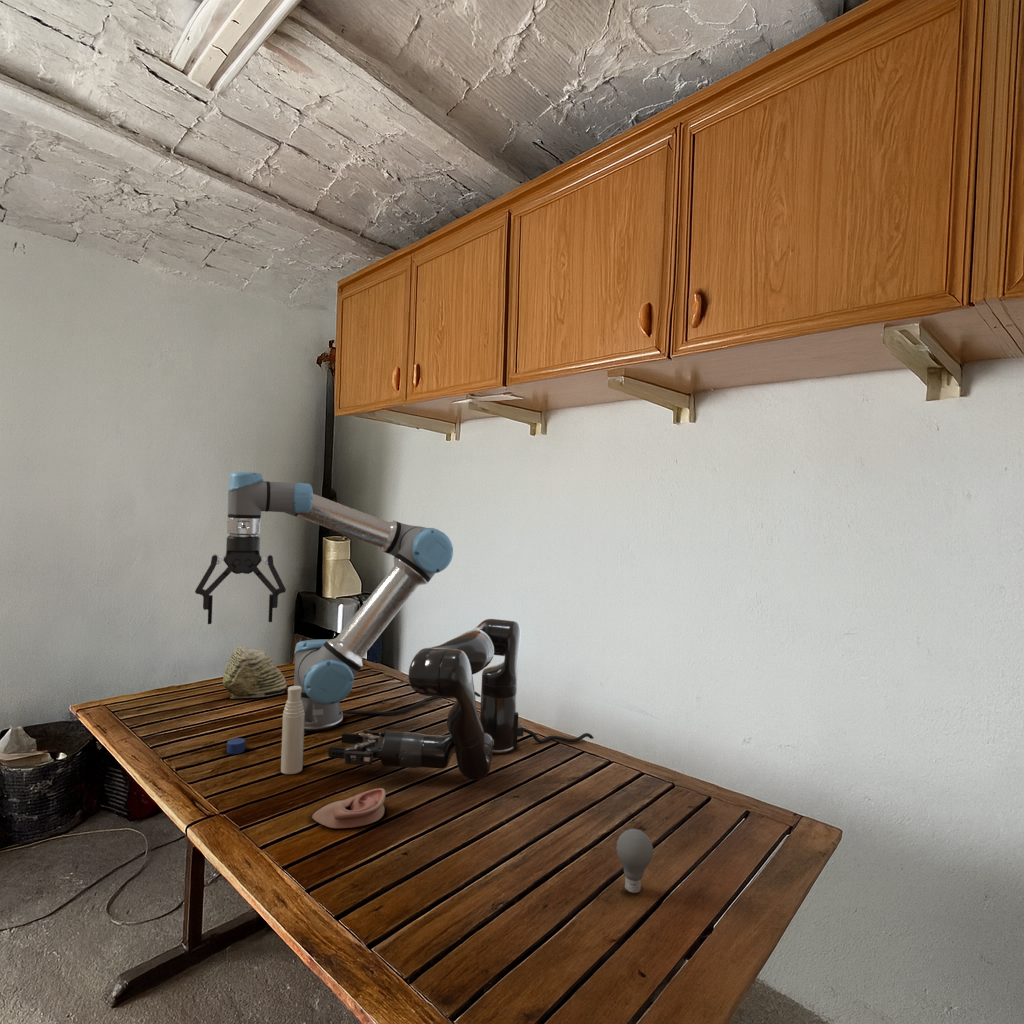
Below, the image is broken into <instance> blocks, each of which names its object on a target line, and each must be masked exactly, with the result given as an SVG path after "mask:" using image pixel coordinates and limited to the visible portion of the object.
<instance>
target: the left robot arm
mask: <svg viewBox="0 0 1024 1024" xmlns="http://www.w3.org/2000/svg"><path fill="white" fill-rule="evenodd" d="M262 512H266V513H267V512H273V513H285V514H287V515H290V516H293V517H296V518H300V519H302V520H305V521H307V522H310V523H313V524H315V525H318V526H321V527H324V528H327V529H329V530H332V531H334V532H338V533H340V534H342V535H346V536H349V537H351V538H354V539H357V540H360V541H363V542H365V543H368V544H370V545H373V546H375V547H379V548H380V550H381V552H383V553H385V554H387V555H390V556H392V557H393V567H392V568H391V569H390V570H389V572H388V573H387V574H386V575H385V577H384V578H383V579H382V581H381V582H380V583H379V584H378V585H377V586H376V588H375V589H374V590H373V591H372V593H371V594H370V596H369V597H368V598H367V599H366V600H365V602H363V604H362V605H361V607H360V608H358V610H357V612H356V613H355V614H354V615H353V617H352V618H351V619H350V620H349V621H348V622H347V624H346V625H345V626H344V627H343V629H342V630H341V631H340V633H339V634H338V635H337V636H336V637H335V638H330V639H328V638H327V639H307V640H301V641H299V642H297V643H296V644H295V648H294V649H295V650H294V672H293V673H294V674H293V675H294V676H293V686H301V688H302V691H301V700H302V703H303V706H304V712H305V718H304V733H316V732H325V731H329V730H332V729H335V728H337V727H339V726H340V725H342V723H343V722H344V715H367V716H371V715H372V716H389V715H397V714H400V713H405V712H407V711H410V710H413V709H415V708H417V707H419V706H421V705H423V704H424V703H427V702H429V701H432V700H436V699H440V698H442V697H435V696H428V697H426V698H423V699H422V700H420V701H418V702H416V703H414V704H412V705H409V706H407V707H404V708H401V709H396V710H389V711H387V710H386V711H372V710H371V711H369V710H343V709H342V706H341V701H343V700H345V699H346V698H347V697H348V696H349V695H350V693H351V691H352V690H353V686H354V681H355V677H356V676H357V675H358V673H359V672H360V671H361V669H362V668H363V667H364V666H363V658H364V656H365V655H366V654H367V653H368V651H369V650H370V648H371V647H372V646H373V645H374V643H375V642H376V641H377V640H378V639H379V637H380V636H381V634H382V633H383V632H384V631H385V629H386V628H388V626H389V624H390V623H391V622H392V620H393V619H394V618H395V617H396V616H397V614H398V612H400V610H401V609H402V607H403V606H405V604H406V602H407V601H408V600H409V599H410V597H411V596H412V595H413V594H414V592H415V591H416V590H417V588H418V587H419V586H422V585H428V584H429V582H430V581H431V580H432V579H433V577H434V576H435V574H438V573H441V572H443V571H444V570H446V569H447V568H448V567H449V565H450V564H451V562H452V559H453V556H454V547H453V542H452V541H451V539H450V538H449V536H448V535H447V534H446V533H445V532H443V531H442V530H440V529H438V528H434V527H425V526H418V525H412V524H406V523H402V522H400V521H396V520H391V521H387V520H385V519H382V518H379V517H376V516H375V515H374V516H373V515H371V514H369V513H366V512H363V511H360V510H358V509H356V508H352V507H350V506H347V505H345V504H342V503H339V502H336V501H334V500H332V499H329V498H326V497H323V496H321V495H318V494H316V493H314V490H313V486H312V485H311V484H310V483H305V482H304V483H303V482H290V481H289V482H288V481H269V480H267V481H266V480H264V478H263V475H262V473H260V472H249V471H233V472H231V473H230V474H229V479H228V489H227V517H226V518H227V521H226V533H227V534H228V535H227V536H226V545H225V546H226V548H225V549H226V550H225V555H224V556H223V555H218V554H216V553H215V554H213V555H212V556H211V559H210V565H209V566H208V568H207V570H206V572H205V573H204V575H203V577H202V578H201V580H200V581H199V583H198V585H197V587H196V588H195V591H194V593H195V594H196V595H200V596H202V597H203V598H202V599H203V600H202V608H203V610H204V611H205V610H206V611H207V625H212V622H213V600H214V599H213V598H214V597H213V595H212V593H213V592H214V590H216V588H217V587H218V586H219V585H220V584H221V583H222V582H223V581H224V580H226V578H227V577H228V576H229V575H230V574H231V573H233V574H235V575H240V574H244V575H250V574H251V573H253V574H254V575H255V576H257V578H258V579H259V580H260V581H261V582H262V584H263V585H264V586H265V587H266V588H267V589H268V591H269V592H270V594H269V597H268V623H273V613H274V612H273V610H274V609H278V605H279V604H278V603H279V595H281V594H283V593H286V591H287V589H286V587H285V585H284V583H283V580H282V578H281V577H280V575H279V572H278V571H277V568H276V566H275V565H274V557H273V555H272V554H268V555H262V556H261V554H260V552H261V537H260V536H259V535H260V534H261V524H262ZM221 562H224V564H225V565H226V566H227V567H226V568H225V569H224V570H223V571H222V573H220V574H219V575H218V576H217V578H215V579H214V581H213V582H212V583H211V584H210V585H209V586H208V587H207V588H206V589H205V588H204V587H205V586H206V585H207V582H208V581H209V580H210V577H211V575H213V572H214V570H215V568H216V566H219V565H220V564H221ZM261 562H263V563H264V564H265V565H267V566H268V568H269V571H270V572H271V574H272V576H273V579H274V581H275V582H276V584H277V588H276V586H274V584H273V583H272V582H271V581H270V580H269V579H268V578H267V576H265V574H264V573H263V572H262V571H261V570H260V569H259V568H258V566H259V565H260V563H261ZM475 697H478V698H481V693H478V692H477V691H475Z"/></svg>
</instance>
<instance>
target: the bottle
mask: <svg viewBox="0 0 1024 1024" xmlns="http://www.w3.org/2000/svg"><path fill="white" fill-rule="evenodd" d="M301 691H302V688H301V686H294V685H291V686H287V700H286V701H285V706H284V709H283V711H282V724H281V725H282V726H281V746H280V748H281V750H280V773H281V774H284V775H295V774H298V773H300V772H302V771H303V767H304V766H303V765H304V743H305V732H304V718H305V712H304V706H303V703H302V700H301Z"/></svg>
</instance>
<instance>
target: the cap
mask: <svg viewBox="0 0 1024 1024" xmlns="http://www.w3.org/2000/svg"><path fill="white" fill-rule="evenodd" d="M245 751H246V739H245V738H242V737H235V738H231V739H228V740H227V742H226V753H227V754H229V755H239V754H242V753H244V752H245Z"/></svg>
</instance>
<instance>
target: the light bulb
mask: <svg viewBox="0 0 1024 1024" xmlns="http://www.w3.org/2000/svg"><path fill="white" fill-rule="evenodd" d="M615 849H616V854H617V857H618V859H619V861H620V863H621V865H622V867H623V873H624V874H623V875H624V876H625V878H624V888H625V890H627V891H628V892H630V893H634V894H635V893H639V892H640V891H641V889H642V887H641V886H642V879H643V877H644V875H645V871H646V868H647V867H648V866H649V864H650V863H651V861H652V859H653V855H654V847H653V843H652V841H651V838H649V836H648V835H647V834H646V833H645V832H643V831H642V830H641V829H636V828H629V829H627V830H625V831H623V832H622V833H621V834H620V835H619V837H618V839H617V841H616V847H615Z"/></svg>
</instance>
